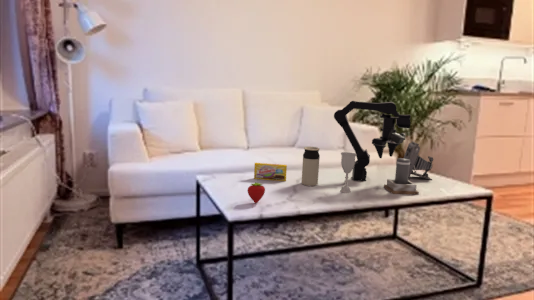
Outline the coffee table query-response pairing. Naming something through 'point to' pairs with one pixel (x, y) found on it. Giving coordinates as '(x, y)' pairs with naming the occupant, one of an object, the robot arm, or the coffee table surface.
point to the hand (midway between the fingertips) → (385, 157)
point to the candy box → (270, 171)
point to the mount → (401, 187)
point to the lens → (402, 171)
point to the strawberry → (256, 191)
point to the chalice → (347, 168)
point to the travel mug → (310, 166)
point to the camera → (417, 161)
